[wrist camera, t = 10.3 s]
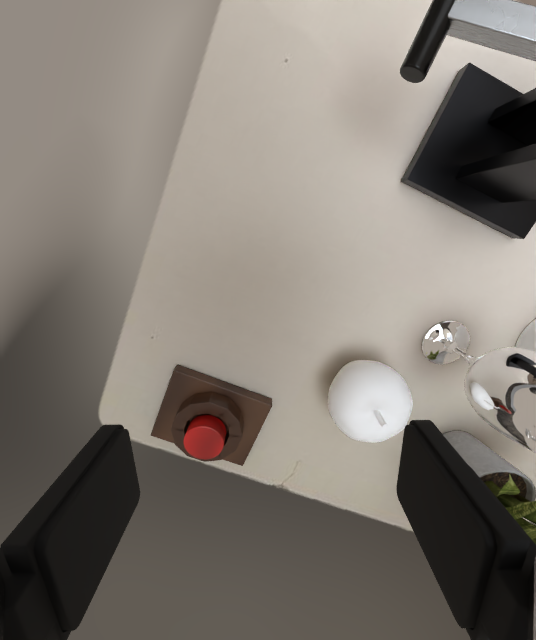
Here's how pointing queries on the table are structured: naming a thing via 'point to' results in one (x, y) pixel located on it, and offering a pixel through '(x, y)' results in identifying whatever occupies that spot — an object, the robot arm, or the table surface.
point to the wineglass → (491, 380)
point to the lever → (472, 31)
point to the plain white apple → (369, 401)
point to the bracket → (482, 153)
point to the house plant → (499, 478)
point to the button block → (211, 412)
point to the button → (205, 437)
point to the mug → (528, 337)
